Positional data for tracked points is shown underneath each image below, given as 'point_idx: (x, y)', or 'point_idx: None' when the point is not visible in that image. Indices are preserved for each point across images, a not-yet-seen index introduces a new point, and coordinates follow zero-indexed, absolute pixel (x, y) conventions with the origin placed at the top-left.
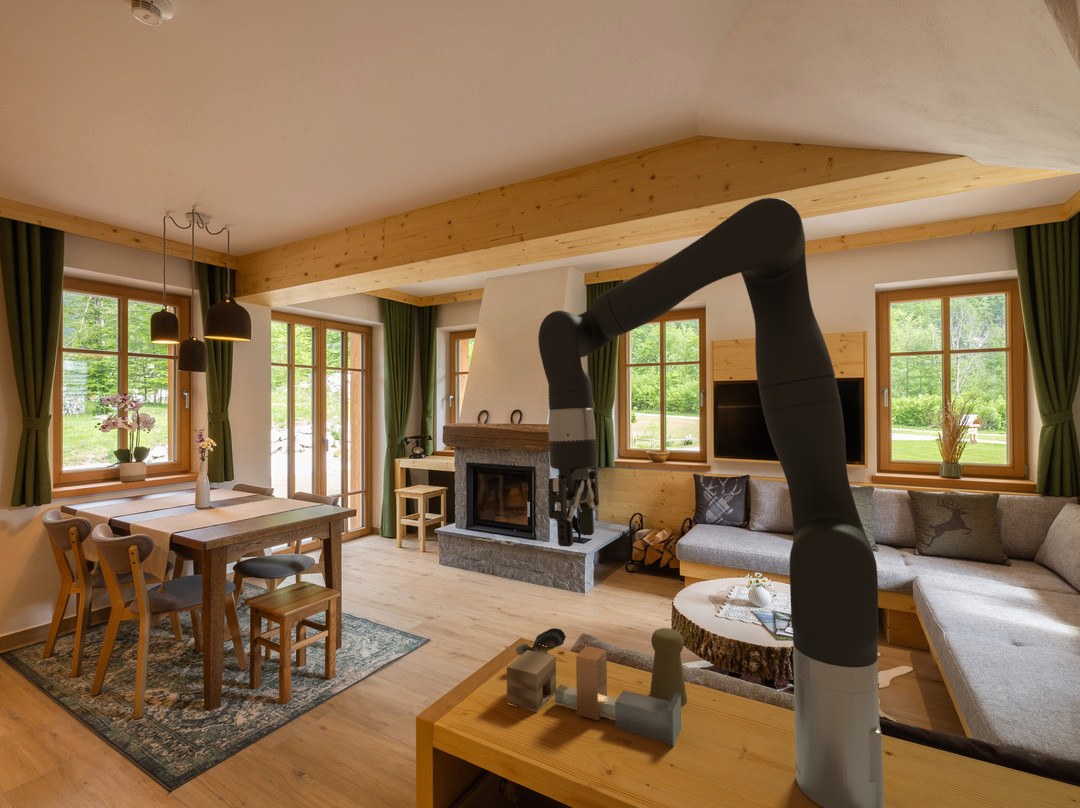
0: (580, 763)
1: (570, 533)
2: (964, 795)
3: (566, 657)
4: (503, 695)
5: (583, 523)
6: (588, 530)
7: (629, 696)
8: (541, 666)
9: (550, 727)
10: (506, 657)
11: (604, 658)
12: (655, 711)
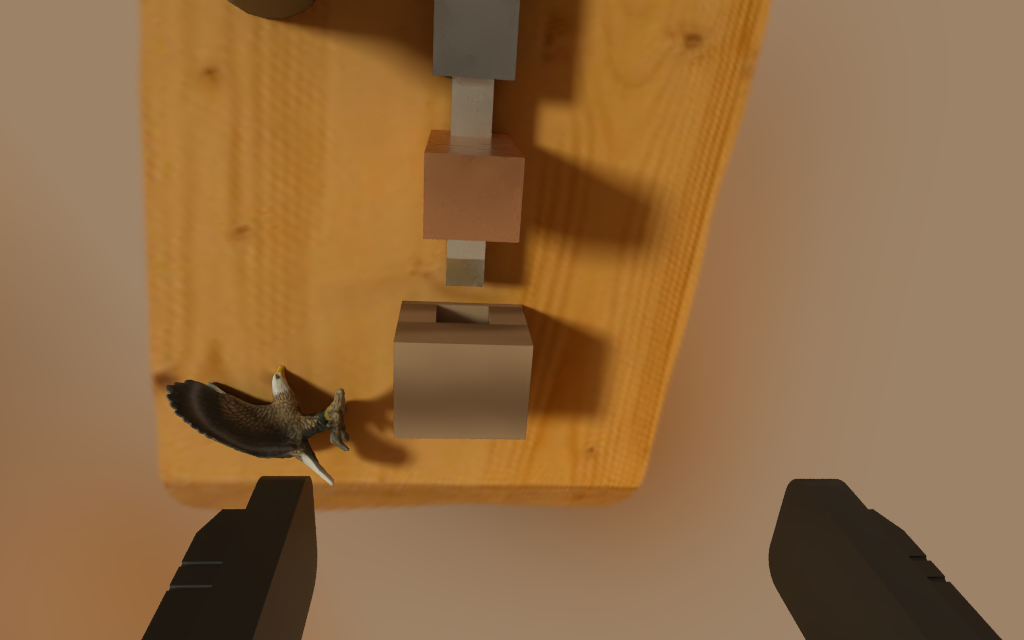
0: (683, 120)
1: (901, 557)
2: None
3: (186, 354)
4: None
5: (290, 635)
6: (301, 532)
7: (463, 43)
8: (480, 353)
9: (569, 246)
10: None
11: (448, 150)
12: None
